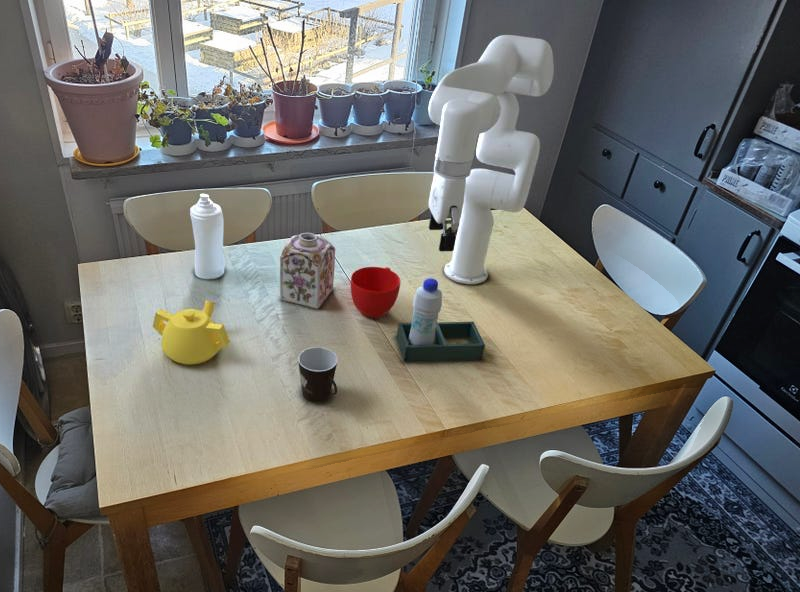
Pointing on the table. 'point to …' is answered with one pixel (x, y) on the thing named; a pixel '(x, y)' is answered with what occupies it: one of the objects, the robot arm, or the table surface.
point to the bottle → (425, 313)
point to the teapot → (190, 334)
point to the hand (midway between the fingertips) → (440, 239)
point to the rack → (442, 343)
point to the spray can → (208, 238)
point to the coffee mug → (317, 373)
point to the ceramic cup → (374, 290)
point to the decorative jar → (307, 270)
